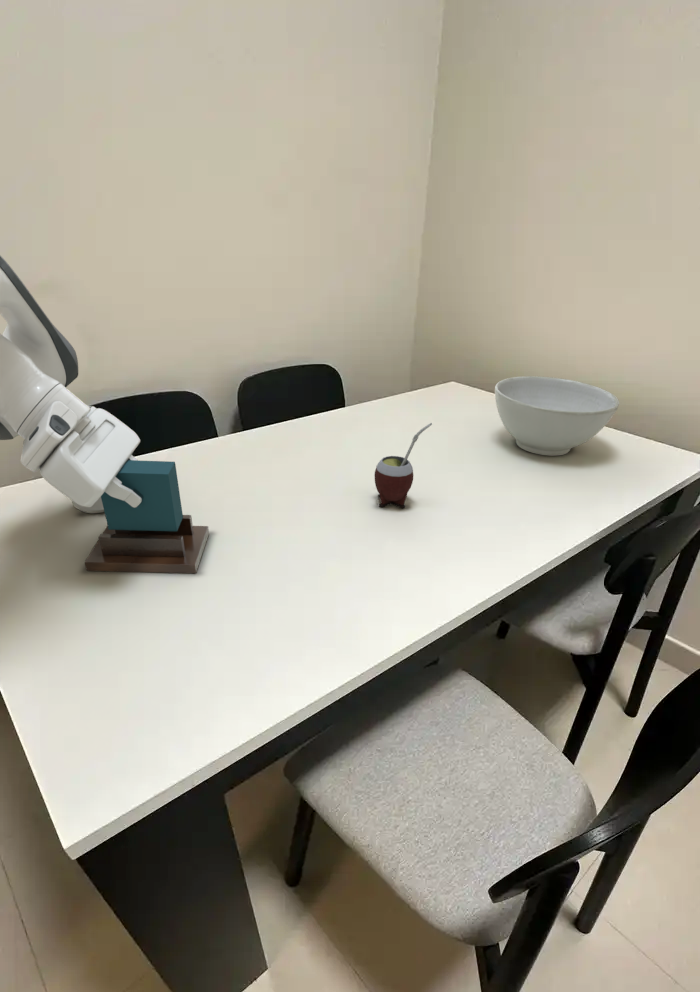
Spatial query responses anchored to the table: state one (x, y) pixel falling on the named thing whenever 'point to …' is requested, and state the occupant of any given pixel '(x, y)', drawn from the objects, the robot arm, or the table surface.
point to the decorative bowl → (552, 412)
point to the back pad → (146, 498)
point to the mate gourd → (395, 477)
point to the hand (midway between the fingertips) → (145, 494)
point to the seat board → (150, 550)
